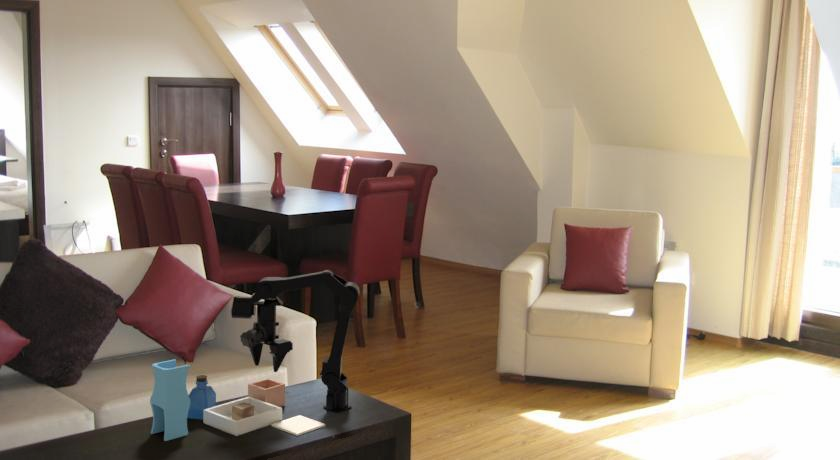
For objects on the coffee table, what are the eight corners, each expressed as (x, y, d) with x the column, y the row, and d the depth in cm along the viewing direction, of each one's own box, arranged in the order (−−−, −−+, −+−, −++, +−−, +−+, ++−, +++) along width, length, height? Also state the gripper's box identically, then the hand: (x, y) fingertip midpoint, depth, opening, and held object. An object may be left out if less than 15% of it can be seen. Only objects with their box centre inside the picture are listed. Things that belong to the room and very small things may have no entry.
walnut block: (244, 416, 259) (244, 401, 258) (254, 420, 256) (254, 405, 255) (232, 420, 255) (232, 405, 255) (241, 424, 253) (241, 409, 252)
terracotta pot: (267, 399, 276) (268, 378, 275) (284, 405, 271) (285, 384, 270) (247, 405, 270) (248, 384, 269) (264, 412, 265) (265, 389, 264)
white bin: (249, 408, 267) (249, 396, 266) (282, 421, 258) (282, 408, 257) (203, 422, 254) (203, 409, 253) (236, 436, 245) (236, 422, 244)
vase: (190, 434, 245) (190, 365, 242) (165, 441, 239) (164, 370, 237) (175, 426, 250) (174, 359, 248) (150, 433, 245) (149, 364, 242)
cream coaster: (299, 416, 262) (299, 414, 261) (325, 426, 255) (325, 424, 255) (271, 426, 253) (271, 424, 253) (297, 435, 246) (297, 433, 246)
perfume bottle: (206, 420, 257) (206, 380, 255) (187, 418, 258) (187, 378, 256) (215, 413, 263) (215, 374, 261) (196, 411, 264) (196, 372, 262)
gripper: (226, 317, 266) (226, 367, 268) (264, 329, 254) (264, 380, 256) (255, 312, 275) (255, 360, 277) (294, 323, 262) (293, 373, 264)
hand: (266, 368), depth 268 cm, fingers open, 9 cm apart
